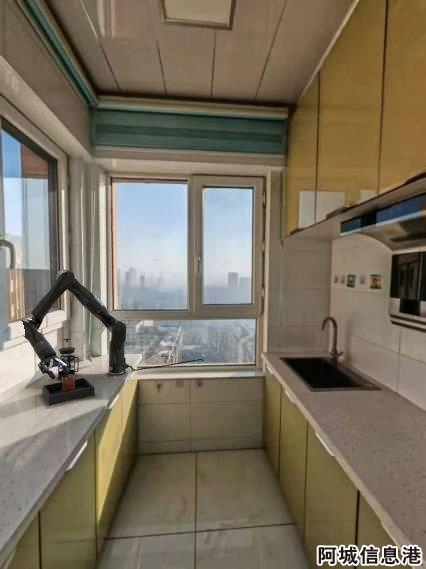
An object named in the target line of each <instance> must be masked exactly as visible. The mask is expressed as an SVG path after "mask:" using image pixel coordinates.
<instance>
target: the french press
mask: <svg viewBox="0 0 426 569" xmlns="http://www.w3.org/2000/svg"><path fill="white" fill-rule="evenodd" d="M62 340H63V341H65V342H66V343H69V341H71V340H72V338H70V337H67V338H63V339H62ZM75 350H76V347H73V346H71V347H69V346H65V347H61V348H59V349H58V353H59V354H60V355H63V356H64V357H65V358H66V360H67V361H68V362H69V364H68V365H67V367H68V369H69V370H70V372H69V373H68V374H73V375H75V376H76V373H78V372H79V371H80V370H79V368H80V366H79V365H80V357H79V356H76V355H74V353H75ZM76 359H77V361H76ZM72 361H73V364H71V362H72ZM76 362H77V364H76ZM59 364H60V363H59ZM76 365H77V366H76ZM62 366H63V365H62ZM76 368H77V369H76ZM68 374H66V373H65V372H64V370H63V368H61V367H57V380H59V381H62V376H64V375H68Z"/></svg>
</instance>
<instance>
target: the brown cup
mask: <svg viewBox="0 0 426 569" xmlns="http://www.w3.org/2000/svg"><path fill="white" fill-rule="evenodd" d="M75 379H76V374H75V375H73V374H68V375H64V376H62V380H61V382H62V393H66V392H70V391H75Z"/></svg>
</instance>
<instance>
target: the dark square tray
mask: <svg viewBox="0 0 426 569" xmlns="http://www.w3.org/2000/svg"><path fill="white" fill-rule="evenodd" d="M41 389H42V392H41V393H42V395H43V396H42V397H43V398H44V400H45V401H46V403H47V405H48V406H53V405H58V404H61V403H66V402H71V401H75V400H79V399H83V398H88V397H92V396H95V386H94V385H93V384H92V383H91V382H90V381H89V380H88V379H87V378H86V377H80V378H75V391H70V392H66V393H62V381H58V382H54V383H47V384H43V385H42V388H41Z"/></svg>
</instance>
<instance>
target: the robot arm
mask: <svg viewBox="0 0 426 569" xmlns="http://www.w3.org/2000/svg"><path fill="white" fill-rule="evenodd" d="M55 278H56V280H55V281H54V284H53V285H52V287H51V288H50V289H49V290H48V291H47V292H46V293H45V295H44V296H42V298H40V300H38V302H37V303H36V304H35V306H34V307H33V309H32V310H31V311H30V314H31V318H30V319H32V320H30V319H28V318H23V319H20V321H22V322H23V325H24V329H25V336H23V337H24V339H25V340H27V341H28V343H29V345H30V346H31V347H32V349H33V351H34V353H35V354H36V356H37V358H38V359H39V362H38V364H37V367H38V369H39V370H40V372H41V374H42V375H45V374H46V375H47V376H49V379H51V380H55V379H56V378H57V376H56V374H55V373H54V372H53V370H52V369H53V368H58V367H61V368H63V370H64V372H65V373H66V374H68V373H69V372H70V370H69V369H68V367H67V365H68V364H69V362H68V361H67V360H66V359H67V358H65V357H64V356H65V355H64V354H60V356H58V355H57V352H56V350H55V348H53V346H52V344H51V343H50V342H49V341H48V339H47V338H46V337H45V335H44V334H43V333H42V332H41V331H39V329H40V328H41V326H42V324H43V321H44V319H45V317H46V316H47V314H48V313H50V311H51V310H52V308H53V307H54V306H55V304H56V303H57V301H58V300H59V299H60V298H61V297H62V295H64V294H65V292H67V291H68V292H69V293H71V294H72V295H73V296H74V298H75V299H76V300H77V301H78V302H79V303H80V305H81V306H82V307H83V308H84V309H85V310H87V311H88V312H89V313H90V314H91V316H94V317H95V318H96V319H97V320H99V321H100V322H101V323H102V324H103V326H105V328H106V329H107V330H108V331H109V333H111V335H110V336H111V337H110V341H109V342H108V375H110V376H119V375H123V374H126V370H127V369H129V368H130V369H131V371H134V372H137V371H143V370H149V369H157V368H165V367H171V366H176V365H181V364H182V365H183V364H186V363H192V362H198V361H202V362H205V360H204V359H203V358H197V359H191V360H186V361H180V362H175V363H174V362H173V363H170V364H169V363H168V364H162V365H155V366H147V367H141V368H138V369H137V368H136V369H135V368H133V366H132V365H130V364H128V363H127V361H126V357H125V351H126V350H125V348H126V341H127V325H126V322H124V321H123V320H120V319H118V318H117V317H115V316H114V314H112V313H111V312H110V311H109V310H108V308H107V307H106V305H105V303H104V302H103V301H102V300H101V299H100V298H99V297H98V295H96V294H95V293H93V292H92V291H91V290H90V289H88V288H87V287H86V286H84V285H83V284H82V283H81V281H80V280H78V278H77V276H76V274H75V273H74V271H72V270H70V269H61V270H59V271H58V272H57V273H56V275H55ZM59 363H60V364H59ZM62 365H63V366H62Z"/></svg>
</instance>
